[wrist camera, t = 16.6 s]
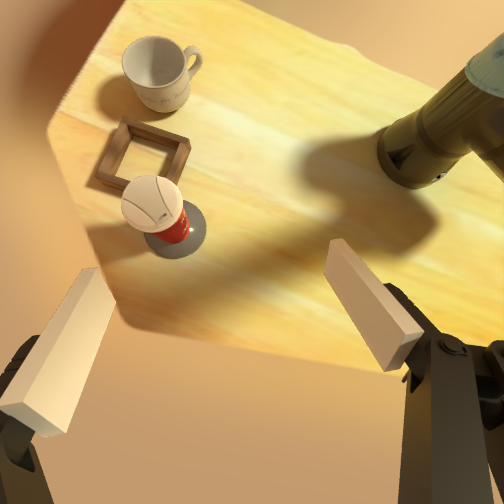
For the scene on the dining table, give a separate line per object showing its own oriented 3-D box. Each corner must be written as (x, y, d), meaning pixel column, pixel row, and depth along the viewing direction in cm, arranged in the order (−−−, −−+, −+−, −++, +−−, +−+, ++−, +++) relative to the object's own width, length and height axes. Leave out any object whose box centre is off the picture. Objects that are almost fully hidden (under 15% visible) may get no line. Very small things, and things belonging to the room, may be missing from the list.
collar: (129, 127, 46) (123, 116, 43) (191, 148, 47) (188, 138, 44) (103, 184, 44) (94, 176, 41) (168, 205, 44) (164, 199, 42)
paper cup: (204, 232, 44) (193, 206, 30) (169, 258, 42) (140, 242, 29) (178, 200, 44) (156, 159, 30) (143, 224, 43) (103, 192, 29)
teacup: (146, 126, 47) (129, 93, 39) (132, 79, 48) (113, 37, 40) (214, 111, 49) (212, 76, 41) (199, 66, 50) (194, 24, 42)
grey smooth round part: (158, 192, 45) (157, 191, 44) (214, 211, 45) (214, 210, 45) (135, 247, 43) (134, 246, 42) (194, 266, 43) (194, 265, 43)
